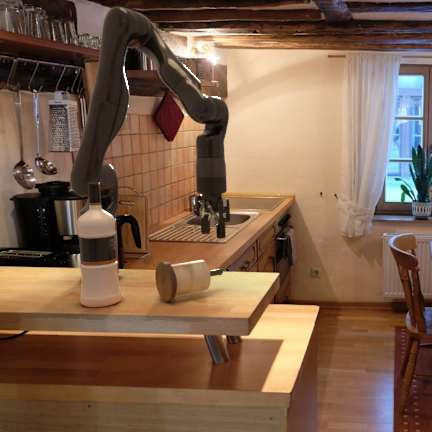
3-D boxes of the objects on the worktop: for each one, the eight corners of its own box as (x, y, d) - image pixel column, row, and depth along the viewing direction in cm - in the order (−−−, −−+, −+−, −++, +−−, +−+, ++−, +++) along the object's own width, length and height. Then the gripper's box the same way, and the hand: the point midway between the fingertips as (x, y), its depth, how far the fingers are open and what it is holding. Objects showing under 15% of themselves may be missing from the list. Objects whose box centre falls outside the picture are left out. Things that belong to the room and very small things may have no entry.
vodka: (76, 301, 140) (68, 181, 136) (116, 294, 146) (109, 179, 141) (85, 310, 133) (76, 184, 128) (126, 303, 139) (119, 182, 134)
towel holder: (156, 296, 145) (154, 258, 143) (214, 285, 156) (213, 250, 155) (172, 305, 138) (171, 266, 136) (232, 293, 149) (231, 256, 148)
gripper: (238, 175, 143) (239, 238, 146) (211, 172, 153) (213, 230, 156) (210, 177, 138) (212, 242, 140) (185, 173, 148) (187, 233, 151)
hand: (213, 235), depth 148 cm, fingers open, 8 cm apart
